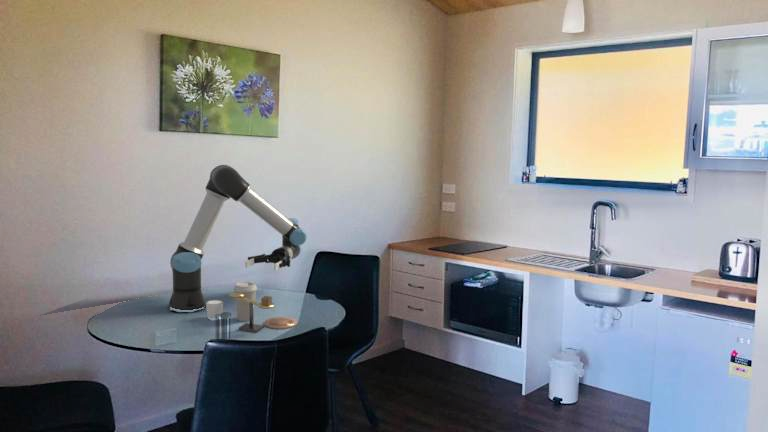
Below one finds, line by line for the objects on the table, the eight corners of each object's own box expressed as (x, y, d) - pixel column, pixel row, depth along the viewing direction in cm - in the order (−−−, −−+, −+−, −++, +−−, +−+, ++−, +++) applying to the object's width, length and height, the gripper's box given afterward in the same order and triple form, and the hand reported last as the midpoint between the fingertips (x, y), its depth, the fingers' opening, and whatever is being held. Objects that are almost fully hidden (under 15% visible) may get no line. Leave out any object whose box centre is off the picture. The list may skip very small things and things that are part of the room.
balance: (226, 328, 245) (226, 294, 243) (233, 323, 251) (233, 291, 249) (269, 334, 240) (270, 300, 238) (276, 329, 246) (277, 296, 244)
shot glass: (226, 317, 258) (226, 301, 257) (215, 322, 252) (215, 305, 251) (213, 314, 261) (213, 298, 260) (202, 319, 255) (202, 303, 254)
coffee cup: (251, 323, 252) (251, 288, 249) (229, 321, 254) (229, 285, 251) (260, 316, 261) (260, 282, 259) (239, 314, 263) (239, 280, 260)
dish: (258, 326, 249) (258, 324, 248) (273, 317, 261) (273, 315, 261) (288, 330, 245) (288, 328, 245) (301, 320, 258) (301, 319, 257)
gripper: (306, 265, 284) (287, 277, 263) (257, 261, 290) (234, 271, 270) (306, 249, 282) (287, 259, 262) (257, 245, 289) (234, 255, 269)
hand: (260, 265), depth 266 cm, fingers open, 13 cm apart
